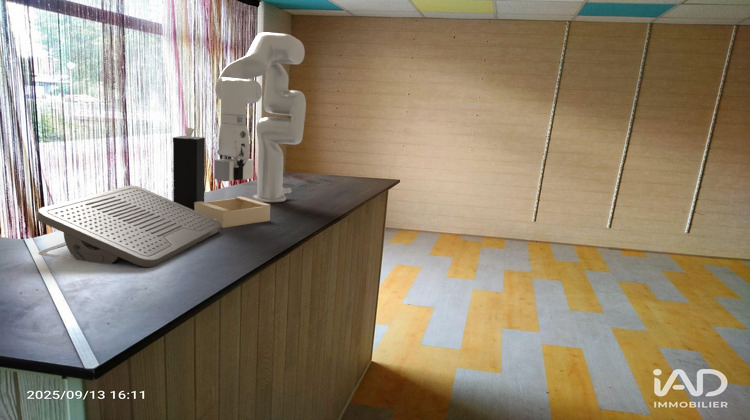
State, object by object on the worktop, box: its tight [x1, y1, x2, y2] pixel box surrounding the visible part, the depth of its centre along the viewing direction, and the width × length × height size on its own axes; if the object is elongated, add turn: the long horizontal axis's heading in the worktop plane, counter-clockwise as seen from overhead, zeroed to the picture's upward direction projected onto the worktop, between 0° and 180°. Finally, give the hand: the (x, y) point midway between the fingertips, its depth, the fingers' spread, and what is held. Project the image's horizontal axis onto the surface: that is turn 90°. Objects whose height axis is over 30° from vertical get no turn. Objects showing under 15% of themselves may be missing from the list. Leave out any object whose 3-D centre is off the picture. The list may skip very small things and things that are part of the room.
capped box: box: [213, 157, 254, 182], centre depth 169 cm, size 11×5×6 cm, turn 141°
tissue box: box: [172, 126, 206, 210], centre depth 179 cm, size 8×8×28 cm
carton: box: [194, 196, 271, 229], centre depth 171 cm, size 18×15×6 cm
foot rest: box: [36, 185, 222, 268], centre depth 139 cm, size 39×30×13 cm
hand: (232, 177), depth 169 cm, fingers closed on capped box, 5 cm apart
